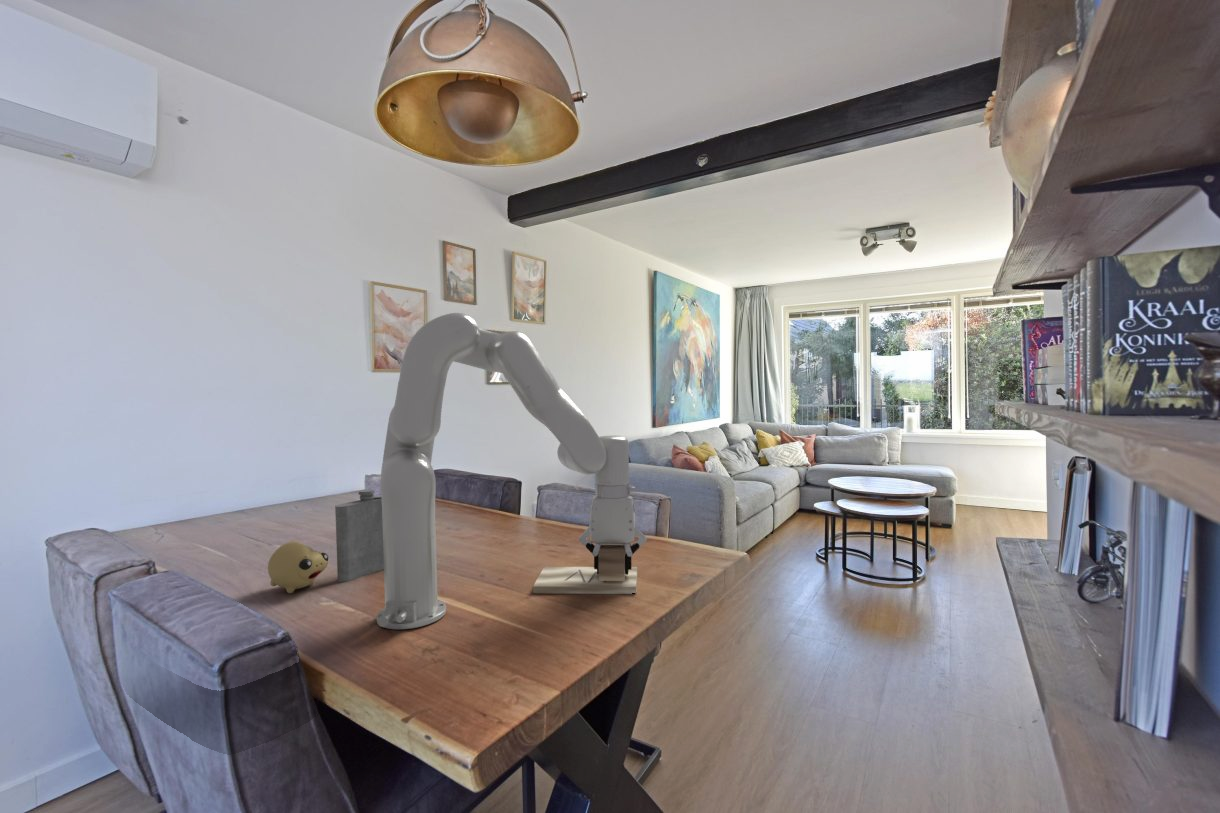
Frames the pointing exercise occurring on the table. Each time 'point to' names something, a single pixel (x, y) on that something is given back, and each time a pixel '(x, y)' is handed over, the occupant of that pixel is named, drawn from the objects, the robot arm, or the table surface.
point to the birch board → (582, 581)
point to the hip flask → (359, 536)
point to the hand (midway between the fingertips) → (612, 571)
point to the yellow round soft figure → (295, 566)
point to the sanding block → (611, 562)
